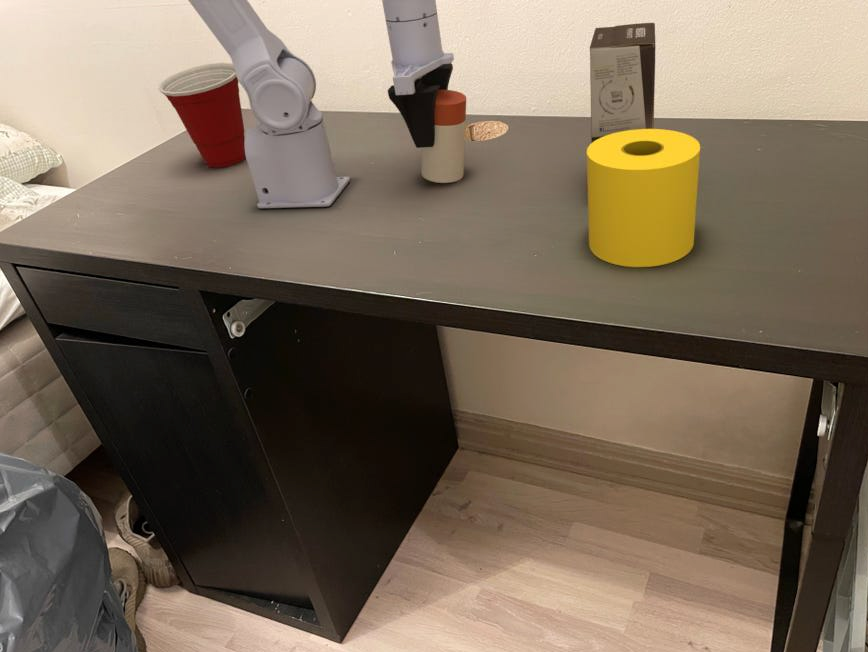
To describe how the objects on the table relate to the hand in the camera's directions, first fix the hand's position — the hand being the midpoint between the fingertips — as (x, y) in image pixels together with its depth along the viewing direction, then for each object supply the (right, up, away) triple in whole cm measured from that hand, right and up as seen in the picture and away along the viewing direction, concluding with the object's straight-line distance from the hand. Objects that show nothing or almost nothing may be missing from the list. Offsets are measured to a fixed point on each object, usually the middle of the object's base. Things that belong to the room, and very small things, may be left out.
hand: (430, 137), depth 88 cm
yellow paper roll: (+22, -15, -16) cm, 31 cm away
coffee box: (+22, -7, -5) cm, 24 cm away
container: (+1, -4, +3) cm, 5 cm away
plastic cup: (-30, +2, +17) cm, 35 cm away
